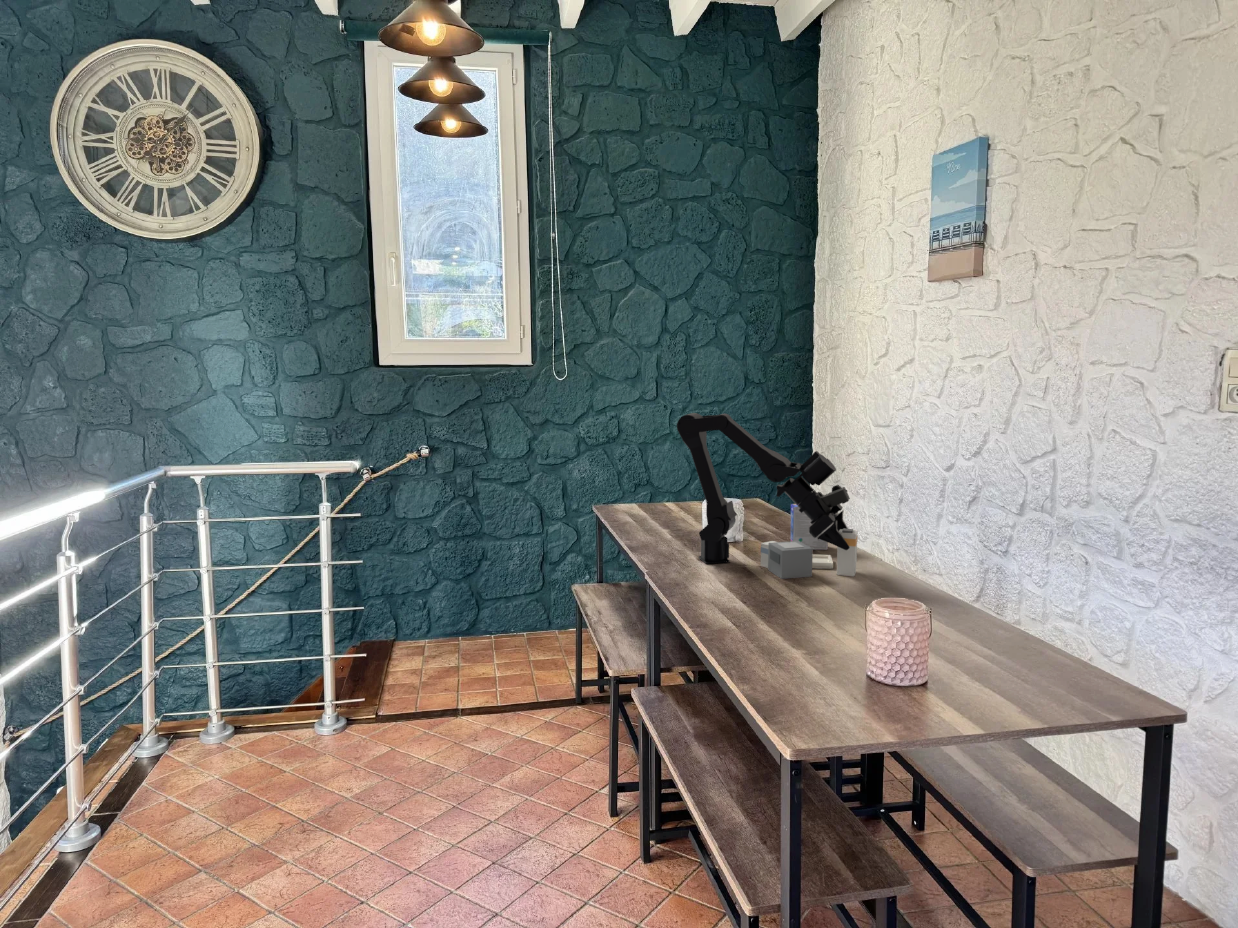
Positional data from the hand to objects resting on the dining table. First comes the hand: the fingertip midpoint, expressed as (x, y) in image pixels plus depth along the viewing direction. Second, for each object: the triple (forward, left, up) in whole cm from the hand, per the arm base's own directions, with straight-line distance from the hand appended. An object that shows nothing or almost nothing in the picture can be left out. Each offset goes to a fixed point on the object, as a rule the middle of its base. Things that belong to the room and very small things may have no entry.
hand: (850, 544), depth 200 cm
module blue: (-16, +11, -7) cm, 20 cm away
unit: (-14, +4, -7) cm, 16 cm away
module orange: (-1, 0, -7) cm, 7 cm away
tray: (-4, +10, -7) cm, 13 cm away
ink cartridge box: (+2, +26, -8) cm, 27 cm away
